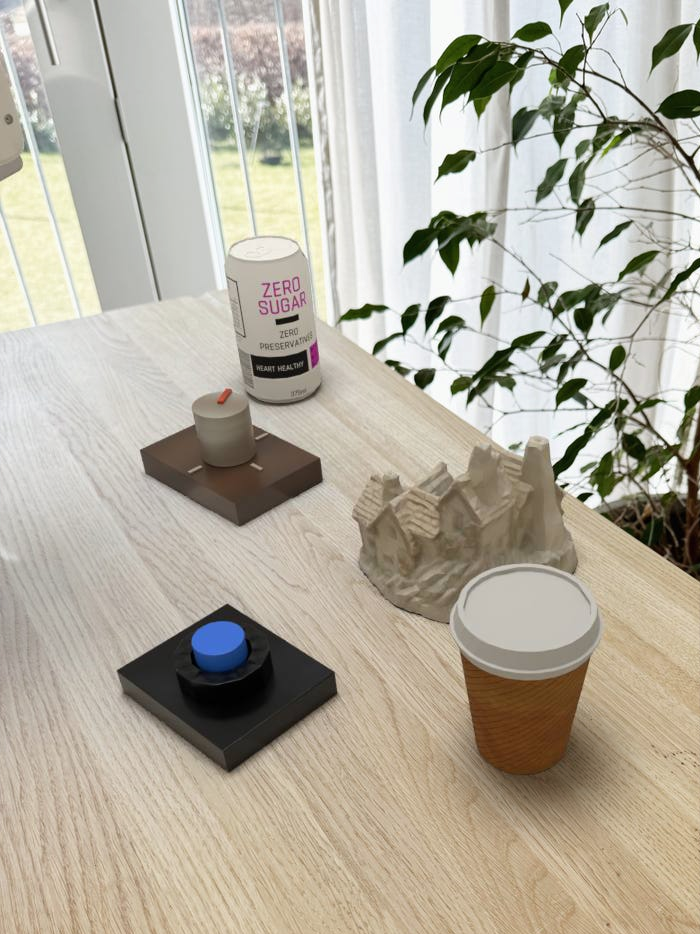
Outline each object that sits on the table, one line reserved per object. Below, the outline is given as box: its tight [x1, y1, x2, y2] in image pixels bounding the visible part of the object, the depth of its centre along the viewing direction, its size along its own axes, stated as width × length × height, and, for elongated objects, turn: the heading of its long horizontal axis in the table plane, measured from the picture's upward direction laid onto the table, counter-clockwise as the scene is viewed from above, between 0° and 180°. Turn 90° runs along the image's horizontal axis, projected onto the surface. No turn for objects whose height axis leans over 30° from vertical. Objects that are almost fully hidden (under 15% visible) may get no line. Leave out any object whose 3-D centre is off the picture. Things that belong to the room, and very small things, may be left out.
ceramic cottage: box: [351, 435, 579, 624], centre depth 80 cm, size 16×16×15 cm
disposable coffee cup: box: [449, 563, 605, 775], centre depth 65 cm, size 10×10×12 cm
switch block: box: [116, 603, 338, 774], centre depth 71 cm, size 12×10×4 cm
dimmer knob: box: [191, 388, 256, 467], centre depth 91 cm, size 5×5×5 cm
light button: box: [191, 621, 248, 673], centre depth 70 cm, size 4×4×2 cm
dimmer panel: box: [139, 423, 324, 527], centre depth 94 cm, size 14×10×3 cm
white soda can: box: [223, 234, 322, 404], centre depth 103 cm, size 8×8×15 cm
